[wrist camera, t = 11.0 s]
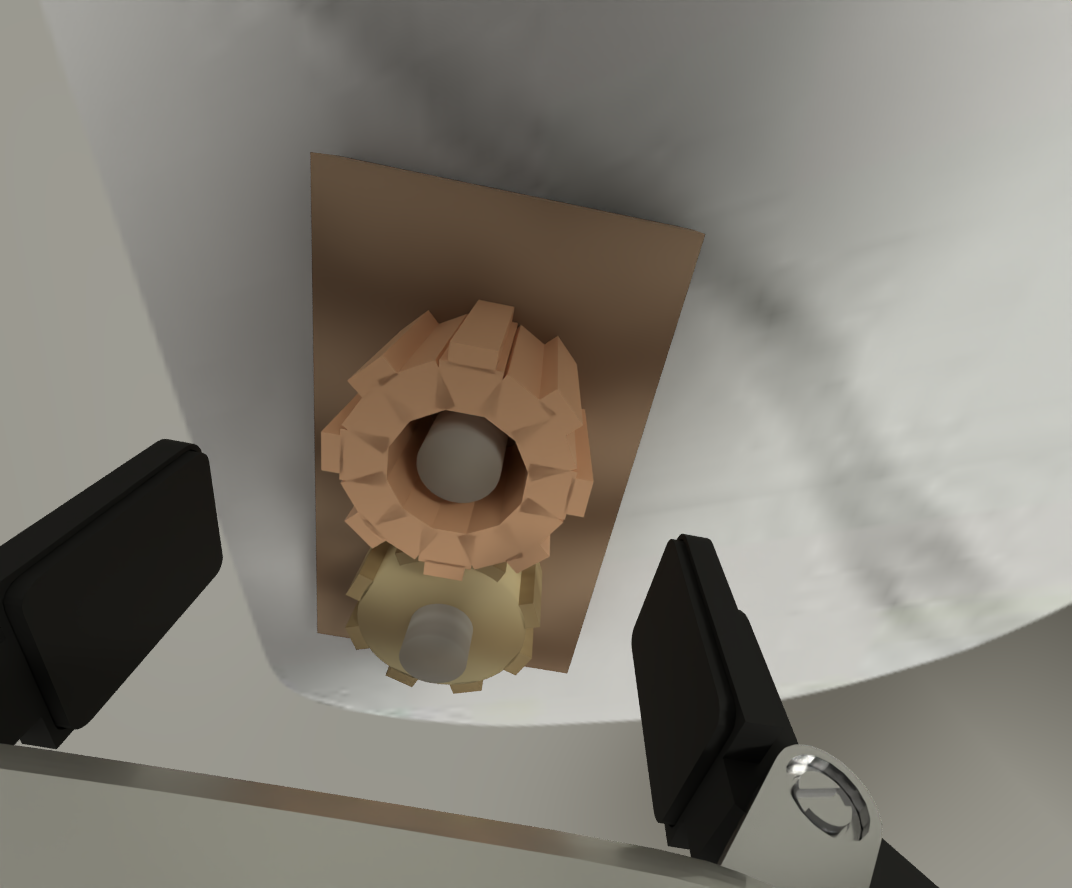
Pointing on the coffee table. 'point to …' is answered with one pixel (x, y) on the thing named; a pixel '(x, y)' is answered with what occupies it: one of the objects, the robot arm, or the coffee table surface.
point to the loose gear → (477, 389)
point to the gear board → (551, 298)
